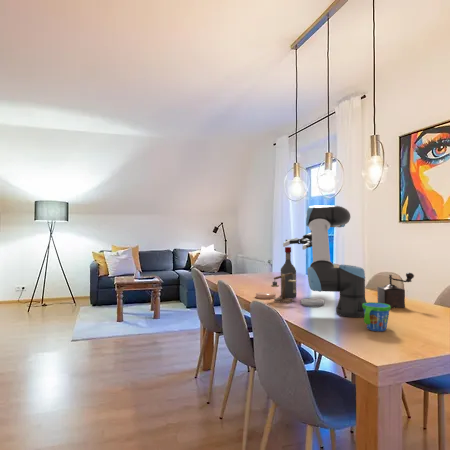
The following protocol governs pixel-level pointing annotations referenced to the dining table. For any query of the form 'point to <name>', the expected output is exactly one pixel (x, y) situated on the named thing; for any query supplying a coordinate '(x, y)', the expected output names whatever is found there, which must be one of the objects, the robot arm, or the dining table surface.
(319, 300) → the grey dish
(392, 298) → the manual coffee grinder
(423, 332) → the dining table surface
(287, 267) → the liquor
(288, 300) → the balance
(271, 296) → the terracotta dish
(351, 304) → the robot arm
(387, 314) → the snack cup
